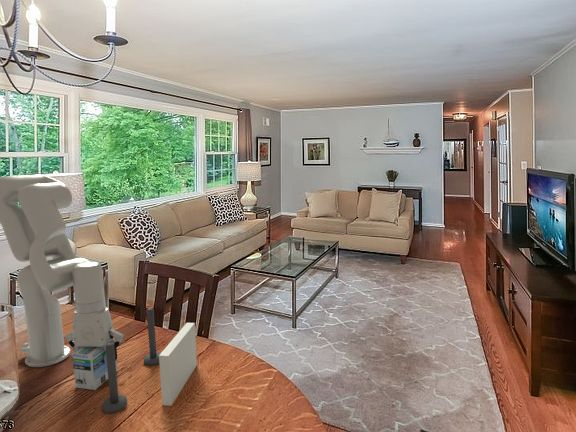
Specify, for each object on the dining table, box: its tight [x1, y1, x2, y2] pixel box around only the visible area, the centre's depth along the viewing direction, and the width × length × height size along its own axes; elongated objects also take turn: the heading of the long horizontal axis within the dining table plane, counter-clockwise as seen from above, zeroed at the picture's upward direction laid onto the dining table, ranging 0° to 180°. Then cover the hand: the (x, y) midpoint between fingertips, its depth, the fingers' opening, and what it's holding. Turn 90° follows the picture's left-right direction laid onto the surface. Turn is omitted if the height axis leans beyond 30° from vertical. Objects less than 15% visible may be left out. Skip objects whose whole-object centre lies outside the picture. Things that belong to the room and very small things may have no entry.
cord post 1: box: [101, 343, 128, 414], centre depth 103 cm, size 6×6×17 cm
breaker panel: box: [159, 322, 198, 407], centre depth 113 cm, size 4×20×14 cm, turn 174°
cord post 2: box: [143, 307, 162, 366], centre depth 125 cm, size 6×6×17 cm
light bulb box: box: [71, 337, 118, 391], centre depth 116 cm, size 11×7×11 cm, turn 168°
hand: (97, 362), depth 115 cm, fingers open, 9 cm apart
